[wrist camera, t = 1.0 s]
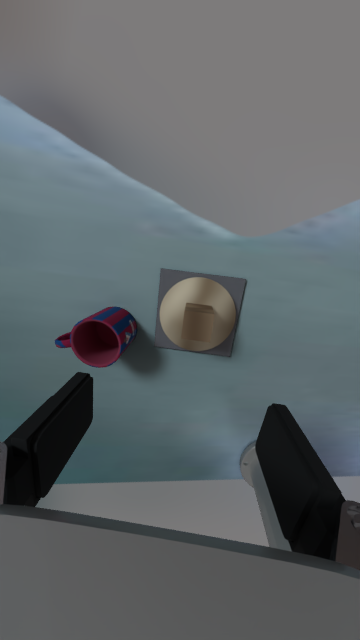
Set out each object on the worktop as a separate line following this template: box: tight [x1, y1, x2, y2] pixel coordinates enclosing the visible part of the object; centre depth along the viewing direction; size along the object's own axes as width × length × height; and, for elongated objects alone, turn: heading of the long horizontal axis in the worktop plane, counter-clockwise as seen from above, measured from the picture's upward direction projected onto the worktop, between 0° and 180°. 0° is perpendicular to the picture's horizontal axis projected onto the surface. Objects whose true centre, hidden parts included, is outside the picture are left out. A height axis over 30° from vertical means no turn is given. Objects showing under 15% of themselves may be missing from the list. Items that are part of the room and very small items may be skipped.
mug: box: [55, 307, 137, 367], centre depth 28 cm, size 7×10×7 cm
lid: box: [160, 277, 236, 351], centre depth 26 cm, size 11×11×6 cm
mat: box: [154, 269, 246, 357], centre depth 29 cm, size 12×12×1 cm
